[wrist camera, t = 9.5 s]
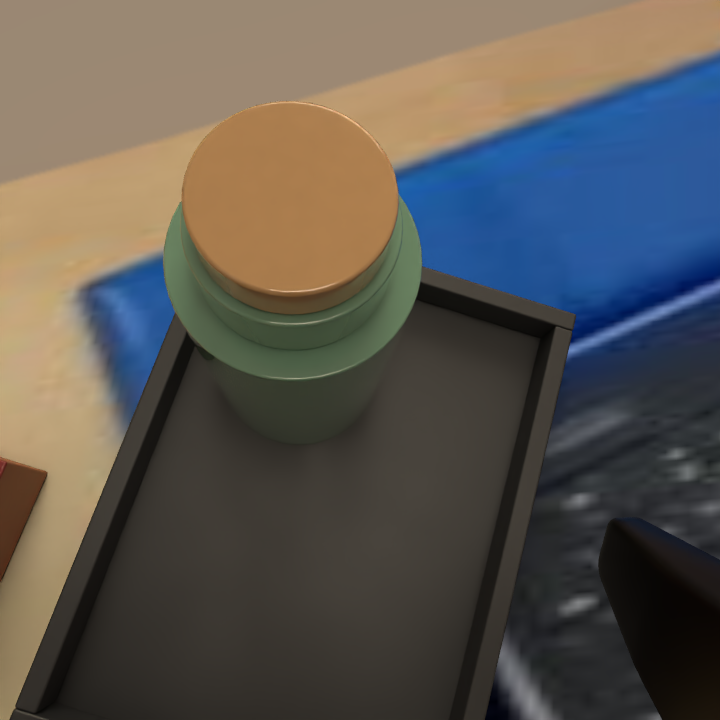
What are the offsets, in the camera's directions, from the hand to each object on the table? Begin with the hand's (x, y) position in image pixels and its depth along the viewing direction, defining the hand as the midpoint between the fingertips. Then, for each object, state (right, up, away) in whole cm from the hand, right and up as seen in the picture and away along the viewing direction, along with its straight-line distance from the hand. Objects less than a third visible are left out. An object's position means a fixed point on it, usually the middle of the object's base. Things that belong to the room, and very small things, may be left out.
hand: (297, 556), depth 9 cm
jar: (-1, +2, +13) cm, 13 cm away
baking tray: (0, -2, +12) cm, 12 cm away
